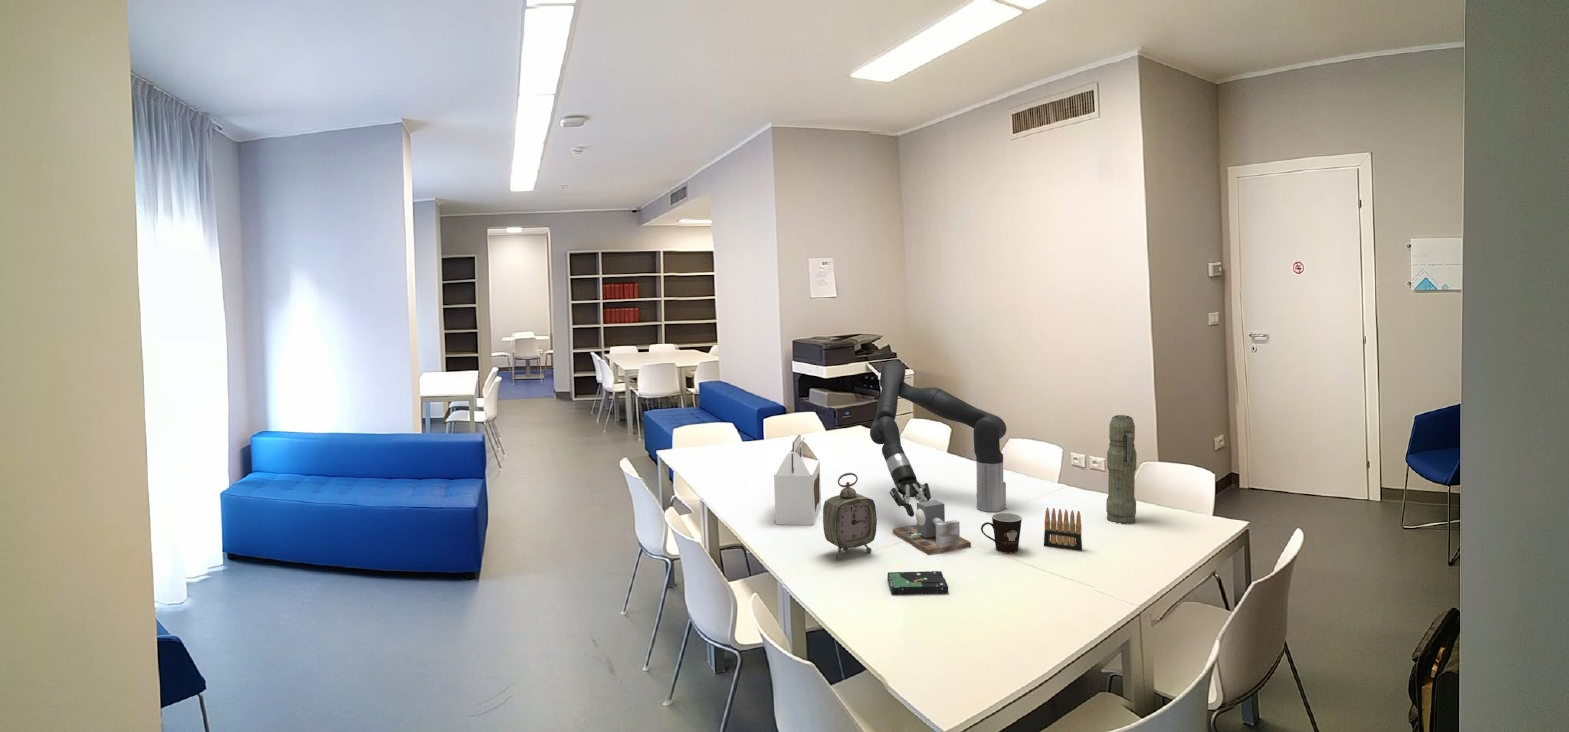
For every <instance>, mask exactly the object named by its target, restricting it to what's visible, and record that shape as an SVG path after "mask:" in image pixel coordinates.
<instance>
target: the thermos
mask: <svg viewBox="0 0 1569 732" xmlns="http://www.w3.org/2000/svg"><path fill="white" fill-rule="evenodd" d="M1135 427H1136V424H1135V421H1134V418H1133V417H1131V416H1130V415H1125V414H1122V415H1121V414H1119V415H1114V416H1112V417H1111V419H1110V422H1109V429H1108V431H1109V433H1108V434H1109V437H1108V438H1109V443H1108V444H1109V445H1108V449H1107V452H1106V457H1107V458H1106V468H1107V470H1108V482H1107V483H1108V486H1107V487H1108V490H1107V491H1108V492H1107V494H1108V496H1107V498H1106V510H1105V511H1106V520H1107V521H1108V522H1110V521H1111V523H1113V522H1116V523H1115V524H1118V523H1121V524H1120V525H1131V523H1132V524H1134V522H1135V523H1136V515H1137V500H1136V497H1135V483H1136V481H1135V479H1136V478H1135V477H1136V470H1137V456H1138V455H1137V451H1136V447H1135V446H1136V445H1135V439H1136V437H1135V435H1136V433H1135V429H1136V428H1135Z"/></svg>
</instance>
